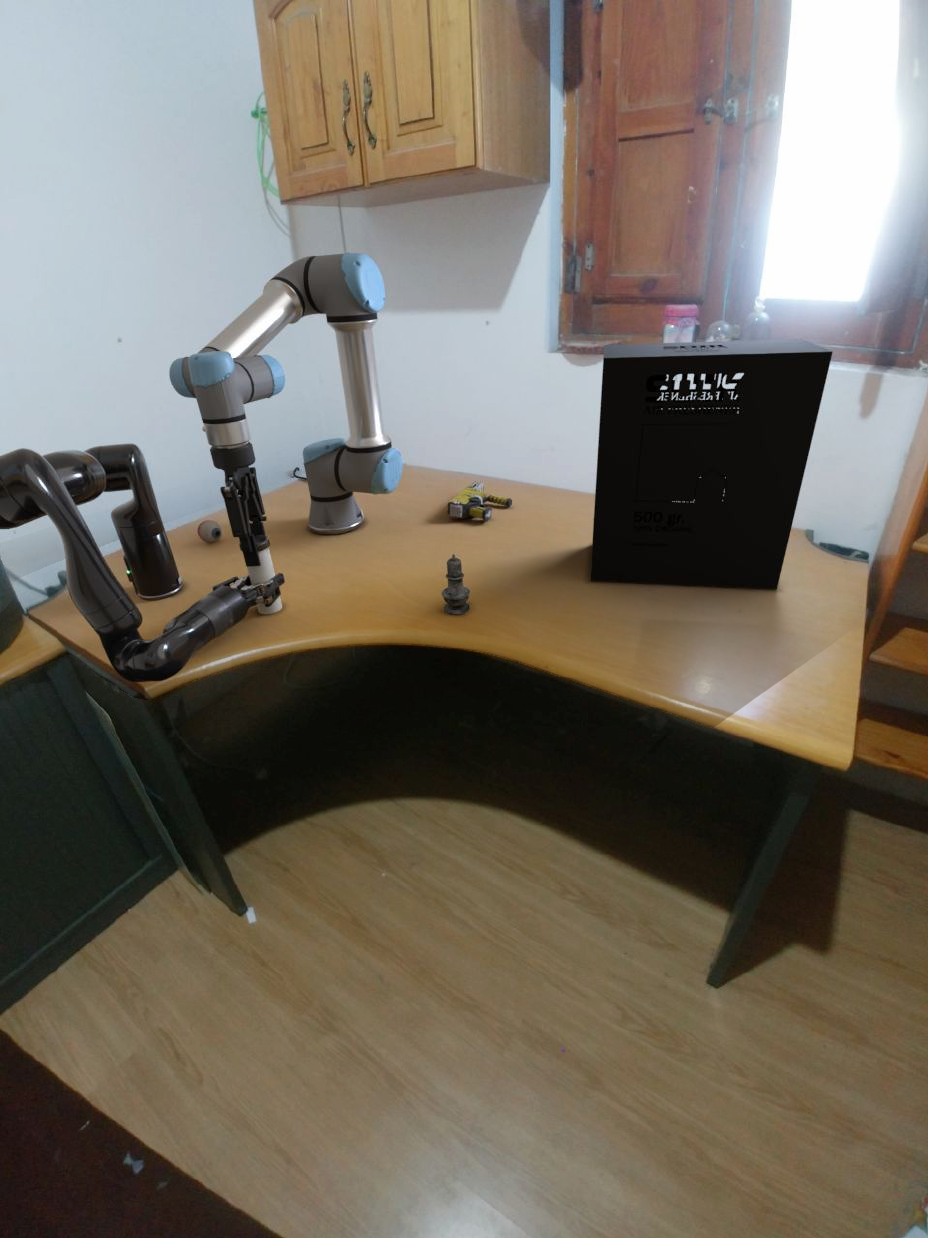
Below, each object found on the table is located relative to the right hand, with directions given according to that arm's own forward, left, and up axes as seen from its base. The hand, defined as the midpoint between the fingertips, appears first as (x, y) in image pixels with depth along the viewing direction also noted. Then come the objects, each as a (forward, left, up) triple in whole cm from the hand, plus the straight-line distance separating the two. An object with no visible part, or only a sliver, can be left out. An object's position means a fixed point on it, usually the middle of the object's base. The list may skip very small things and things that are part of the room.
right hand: (258, 558), depth 122 cm
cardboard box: (+44, +79, -12) cm, 91 cm away
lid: (0, 0, +4) cm, 4 cm away
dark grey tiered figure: (+27, +30, -12) cm, 42 cm away
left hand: (-1, +2, -5) cm, 6 cm away
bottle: (0, 0, -12) cm, 12 cm away
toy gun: (-16, +71, -12) cm, 74 cm away
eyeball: (-47, +2, -12) cm, 49 cm away
